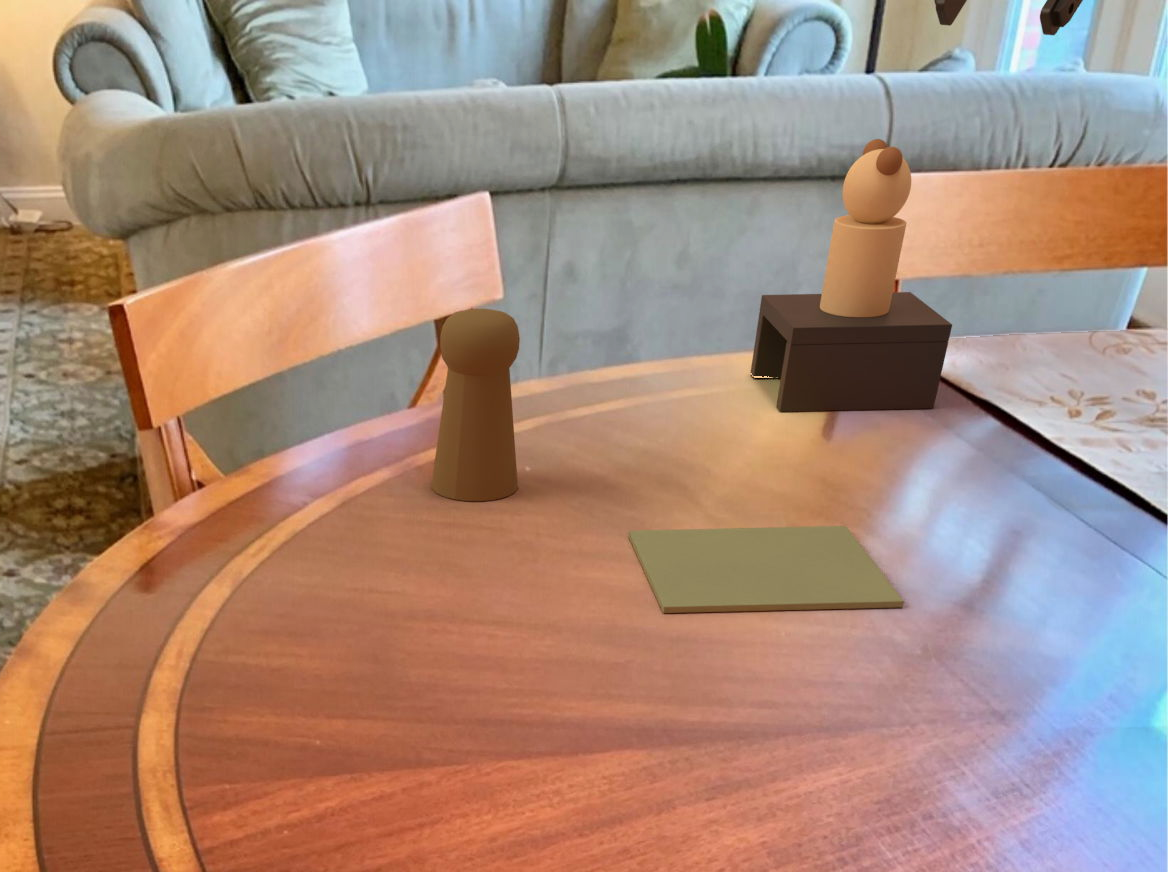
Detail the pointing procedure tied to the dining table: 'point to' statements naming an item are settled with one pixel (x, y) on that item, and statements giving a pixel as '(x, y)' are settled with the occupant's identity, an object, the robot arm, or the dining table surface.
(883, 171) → the toy bear
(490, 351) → the brown pepper mill
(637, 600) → the dining table surface
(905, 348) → the brown u-shaped bridge
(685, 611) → the mat
